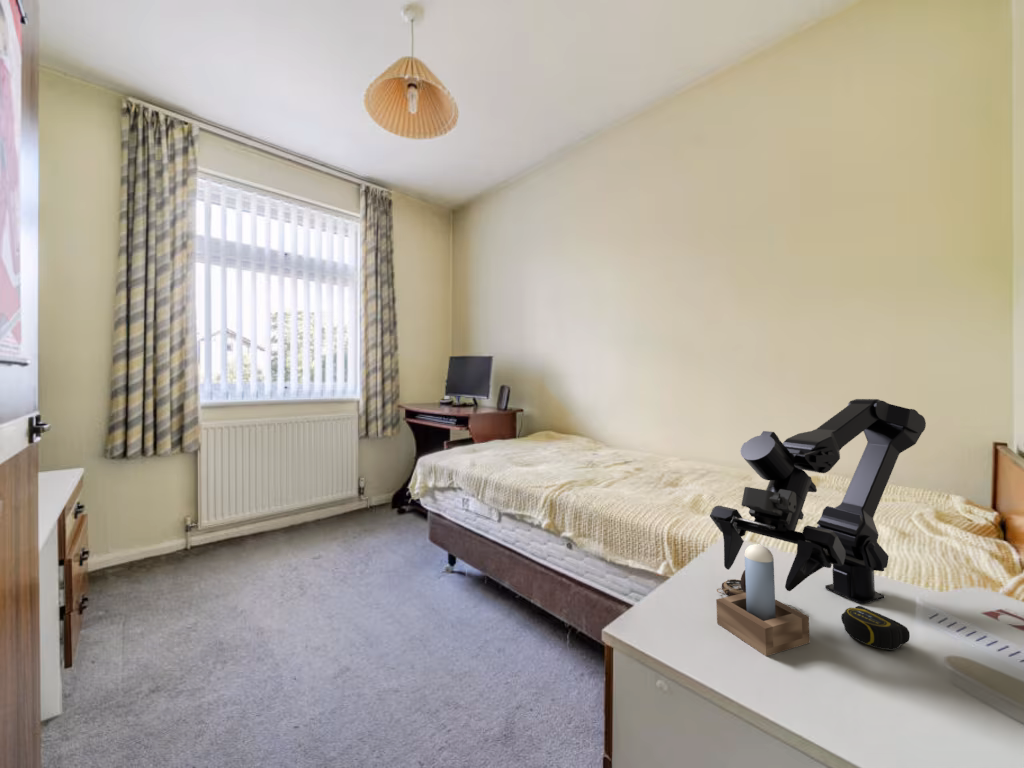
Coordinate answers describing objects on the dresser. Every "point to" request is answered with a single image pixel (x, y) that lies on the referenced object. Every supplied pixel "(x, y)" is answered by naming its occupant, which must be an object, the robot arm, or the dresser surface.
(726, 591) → the compass
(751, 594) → the dome-topped blue cylinder
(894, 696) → the dresser surface
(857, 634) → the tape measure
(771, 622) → the open wooden box
